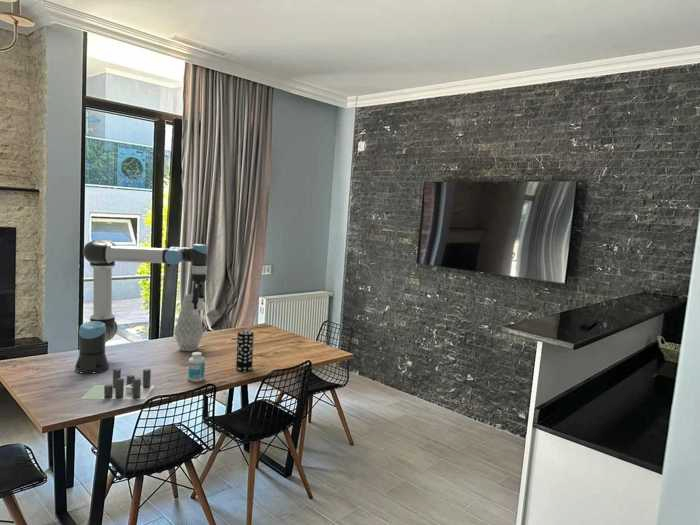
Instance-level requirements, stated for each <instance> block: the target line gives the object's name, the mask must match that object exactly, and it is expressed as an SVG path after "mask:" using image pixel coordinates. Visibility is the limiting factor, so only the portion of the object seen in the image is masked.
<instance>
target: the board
mask: <svg viewBox="0 0 700 525" xmlns="http://www.w3.org/2000/svg"><path fill="white" fill-rule="evenodd" d="M104 386H105V384H94V385H93V386H92V387H91V388H90V389H89V390H88V391H87V392H86V393H84V395H83V396H82V397H81V398H80V400H106V399H105V398H104ZM126 387H127V384H125V385H124V393H123V398H121V399H120V400H134V399H133V398H132V395H131V394H127V393H126ZM154 387H155V385H150V388H143V385H141V392H140V398H138V399H137V400H146V398H147V397H148V396H149V394H150V393H151V391H152V390H153V388H154ZM108 400H117V399H116V398H115V388H113V394H112V398H109V399H108Z"/></svg>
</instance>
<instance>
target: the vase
mask: <svg viewBox="0 0 700 525" xmlns="http://www.w3.org/2000/svg"><path fill="white" fill-rule="evenodd" d="M192 300H193V293H187V294H184V297H183V300H182V304H181V308H180V311H179V315H178V318H177V320H176V321H177V322H176V324H175V327H174V330H173V335H174V337H175V341H176V343H177V345H178V347H179V349H180V351H182V352H193V351H196V350H197V348H198V346H199V344H200V342H201V341H202V337H203V335H204V328H203V326H202V320H201V317H200V312H199V311H198V315H193V303H191V301H192Z"/></svg>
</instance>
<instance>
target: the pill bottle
mask: <svg viewBox="0 0 700 525" xmlns="http://www.w3.org/2000/svg"><path fill="white" fill-rule="evenodd" d="M202 355H203V352H200V351H195V352H193V351H192V353H191V357H189V359H188V381H189V382H192V383H199V382H202V381H204V379H205V360H206V359H205V357H203V356H202Z"/></svg>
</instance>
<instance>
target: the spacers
mask: <svg viewBox="0 0 700 525" xmlns="http://www.w3.org/2000/svg"><path fill="white" fill-rule="evenodd" d="M151 371H152V370H151V369H149V368H146V369H145V368H144V369H143V371H142V379H141V378H136V377H135V376H136V375H132V374H129V375H127V376H126V385H128V384H133V391H132V398H133V399H132V400H139V399H138V398H140V392H141V386H143V388H150V386H151V378H152V376H151V375H152V372H151ZM124 380H125V379H124V378H122V369H121V368H114V369H112V384H106V385H105V384H104V385H105V386H104V398H105V399H104V400H110V399H109V398H112V394H113V388H115V398H116V399H115V400H122V399H121V398H123V393H124ZM141 383H142V385H141Z"/></svg>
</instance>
